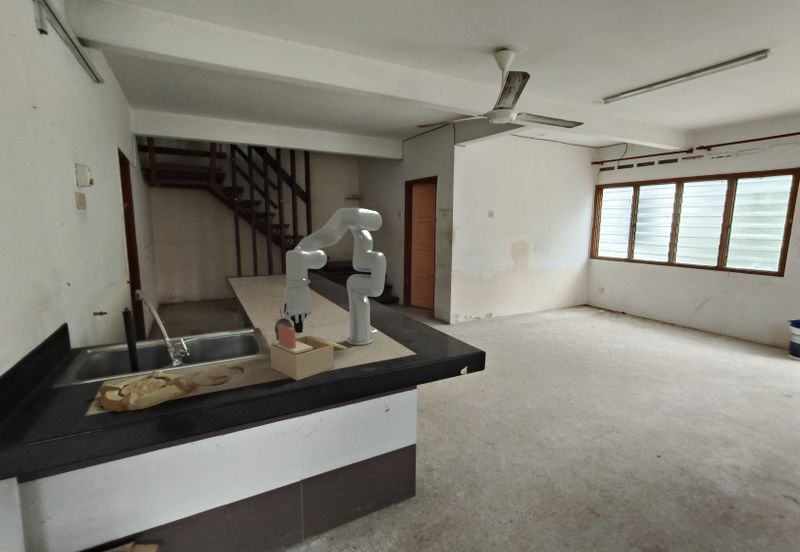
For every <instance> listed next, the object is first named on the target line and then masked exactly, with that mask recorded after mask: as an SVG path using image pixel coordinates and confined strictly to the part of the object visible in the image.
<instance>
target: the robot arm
mask: <svg viewBox="0 0 800 552" xmlns="http://www.w3.org/2000/svg"><path fill="white" fill-rule="evenodd" d="M382 224H383V219H382V216H381V214H380V213H379V212H378V211H375V210H371V209H366V208H362V207H342V208H338V209H337V210H335V212H334V213H333V215H332V216H331V217H330V218H329V219H328V221H326V223H325V224H324V225H323V226H322V227H321V228H319V229H318V230H316V231H314V232H313V233H311V234H309V235H308V236H305V237H304V238H303V239H301V240H300V242H298V244H297V245H296V246H295V247H294V248H293V250H287V251H286V253H285V264H286V265H285V267H286V268H285V270H286V272H285V273H286V275H285V276H286V287H284V289H283V295H282V314H284V316H283V318H285V319H288V320H290V321H292V322H291V323H293V329H295V334H301V333H303V332H304V330H303V329H304V322H305V319H306V318H307V317H308V316H311V315H312V310H313V303H312V302H313V301H312V293H311V290H310V286H309V284H310V283H311V279H309V277H308V269H312V270H313V269H314V270H317V269H318V270H319V269H321V268H323V267H325V265H326V264H327V262H328V256H327V254H326V253H325V251H324V250H321V249H323V248H326V247H330V246H333V245H336V244H337V243H339V242H340V241H341V239H342V238H343V237H344V235H345V234H346V232H348V230H350V231H351V233H352V235H353V236H352V237H353V239H354V244H353V254H352V255H353V256H352V267H353V269H354V270H356V271H357V272H362V273H363V272H365V273H370V274H361V273H358V274H356V273H354V274H351V275H350V276H349V277H348V278H347V281H346V291H347V293H348V302H349V304H348V305H349V307H348V308H349V309H348V310H349V313H348V314H349V317H348V319H349V320H348V321H349V336H348V337H347V338H346V342H347V344H349V345H353V346H364V345H369V344H372V343H373V342H374V337H373V335H376V334H378V330H377V329H374V330H371V305H370V301H369V300H370V299H369V297H380V296H381V295H382V294H383V292H384V289H385V282H386V272H387V260H386V259H387V258H386V256H385V254H384V253H383V252H381V251H373V247H374V246H373V245H374V239H373V237H372V234H371V233H370V232H372V231H374V232H376V231H378V230H379V229H380V228H381V227H382Z"/></svg>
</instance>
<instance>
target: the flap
mask: <svg viewBox="0 0 800 552" xmlns="http://www.w3.org/2000/svg"><path fill="white" fill-rule="evenodd" d="M295 338H296V332H295V329H294V327H293V328H290V327H287V326H284V325H281V324H279V325H278V339H279V340H277V339H276V340H273V341H271V344H273V345H276V346H278V347H280V348H283V349H285V350H288V351H290V352H292V353H295V354H297V353H301V352H304V351H308V350H311V349H313V347H312V346H309V345H306V344H304V343H301V342H299V341H296V340H295Z"/></svg>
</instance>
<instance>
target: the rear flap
mask: <svg viewBox="0 0 800 552" xmlns="http://www.w3.org/2000/svg"><path fill="white" fill-rule="evenodd" d="M308 336H309V337H311V338H314V339H317V340H320V341H323V342H326V343H328V344H331V345H333V346H334V347H335V348H340V349H344V350H348V347H347V346H344V345H342V344H338V343H336V342H333V341H330V340H327V339H324V338H321V337H316V336H313V335H308Z"/></svg>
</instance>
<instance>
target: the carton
mask: <svg viewBox="0 0 800 552" xmlns="http://www.w3.org/2000/svg"><path fill="white" fill-rule="evenodd" d="M309 336H310V335H304V336H300V337H297V338H296V337H295V340H296V341H299V342H301V343H304V344H306V345H309V346H312V347H313V349H311V350H308V351H304V352H301V353H297V354H295V353H292V352H290V351H288V350H285V349H283V348H280V347H278V346H276V345H273V344H272V343H271V344H269V348H270V350H269V351H270V367H271V369H273V370H274V371H275V370H276V371H277V372H280V373H282V374H283V375H284V376H287V377H290V378H291V379H293V380H295V381H300V380H304V379H306V378H309V377H312V376H315V375H318V374H320V373H323V372H326V371H329V370H333V369H335V357H334V356H335V355H334V353H335V352H334V349H335V348H334V347H335V346H333V345H331V344H328V343H326V342H323V341H320V340H317V339H314V338H311V337H309Z"/></svg>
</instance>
